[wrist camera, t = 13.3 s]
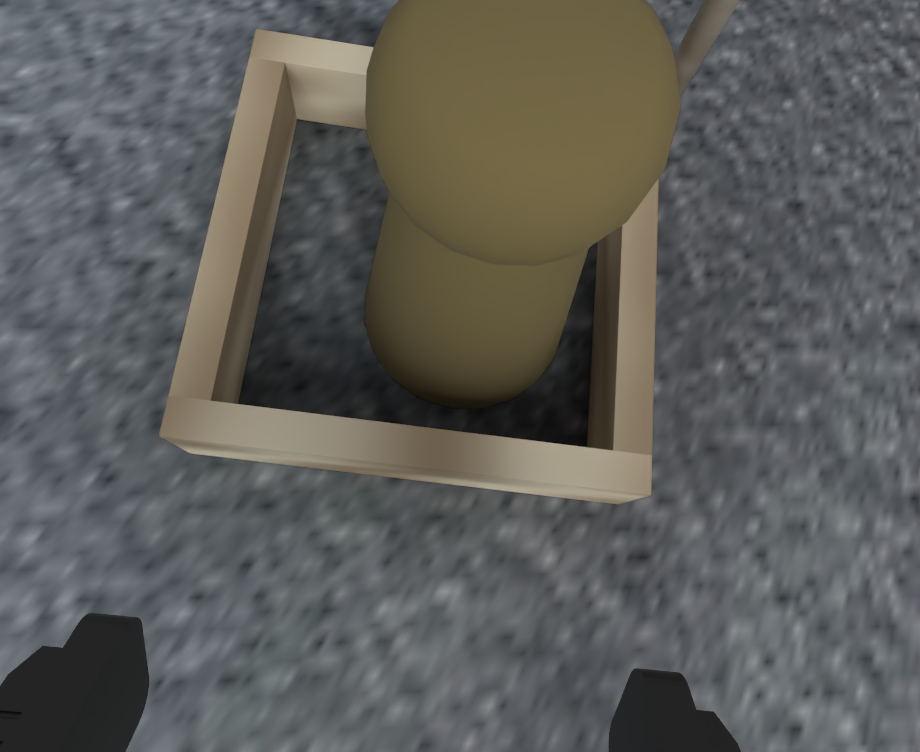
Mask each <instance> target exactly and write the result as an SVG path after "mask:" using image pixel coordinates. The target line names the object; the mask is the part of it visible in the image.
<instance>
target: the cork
mask: <svg viewBox="0 0 920 752" xmlns="http://www.w3.org/2000/svg"><path fill="white" fill-rule="evenodd" d="M680 108H681V103H680V95H679V86H678V78H677V69H676V63H675V59H674V54H673V50H672V46H671V43H670V41H669V39H668V37H667V35H666V33H665V31H664V29H663V27H662V25H661V23H660V21H659V19H658V17H657V15H656V13H655V10H654V9H653V8H652V7H651V6H650V5H649V4H648V3H647V2H646V1H645V0H399V1H398V2H397V3H396V4H395V5H394V6H393V7H392V8H391V9H390V11H389V13H388V16H387V18H386V20H385V22H384V25H383V27H382V29H381V32H380V34H379V36H378V38H377V41H376V43H375V45H374V48H373V51H372V54H371V58H370V61H369V64H368V68H367V74H366V103H365V117H366V128H367V137H368V140H369V143H370V146H371V148H372V151H373V154H374V157H375V160H376V163H377V166H378V169H379V172H380V175H381V177H382V179H383V181H384V183H385V185H386V187H387V189H388V191H389V196H388V200H387V204H386V209H385V213H384V217H383V222H382V226H381V230H380V235H379V239H378V243H377V248H376V252H375V256H374V260H373V265H372V269H371V273H370V278H369V282H368V286H367V291H366V297H365V327H366V330H367V333H368V336H369V340H370V343H371V346H372V349H373V352H374V354H375V356H376V357H377V358H378V360H379V361H380V362H381V364H382V365H383V367H384V368H385V369H386V371H387V372H388V373H389V375H390V376H391V378H392V379H393V380H395V381H396V382H398V383H399V384H400V385H402V386H403V387H405V388H406V389H407V390H409V391H410V392H411V393H413V394H414V395H416V396H417V397H418V398H421V399H424V400H427V401H430V402H433V403H436V404H439V405H442V406H445V407H448V408H485V407H488V406H491V405H495V404H498V403H501V402H504V401H508V400H511V399H513V398H515V397H516V396H517V395H519V394H520V393H522V392H523V391H524V390H526V389H527V388H529V387H530V386H531V385H533V384H534V383H536V382H537V381H538V380H539V378H540V377H541V375H542V374H543V373H544V371H545V370H546V368H547V367H548V366H549V364H550V363H551V361H552V360H553V358H554V357H555V354H556V351H557V348H558V345H559V341H560V338H561V335H562V332H563V329H564V326H565V322H566V319H567V316H568V313H569V310H570V307H571V303H572V300H573V297H574V294H575V291H576V287H577V284H578V281H579V278H580V275H581V272H582V268H583V265H584V262H585V259H586V256H587V253H588V249H589V247H590V246H592V245H593V244H595V243H596V242H598V241H599V240H601V239H602V238H604V237H605V236H607V235H608V234H610V233H611V232H613V231H614V230H616V229H617V228H619V227H620V226H622V225H623V224H625V223H626V222H627V221H628V220H629V219H630V217H631V216H632V214H633V213H634V212H635V210H636V209H637V208H638V206H639V205H640V203H641V202H642V201H643V199H644V198H645V196H646V195H647V194H648V192H649V191H650V190H651V188H652V187H653V185H654V184H655V183H656V181H657V180H658V178H659V177H660V176H661V174H662V173H663V171H664V170H665V167H666V163H667V159H668V155H669V151H670V147H671V144H672V140H673V136H674V132H675V128H676V124H677V120H678V116H679V112H680Z"/></svg>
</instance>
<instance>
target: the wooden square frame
mask: <svg viewBox="0 0 920 752" xmlns="http://www.w3.org/2000/svg"><path fill="white" fill-rule="evenodd" d="M739 1H740V0H704V1H703V3H702V5H701V7H700V9H699V11H698V12H697V14H696V16H695V18H694V20H693V22H692V23H691V25H690V27H689V29H688V31H687V33H686V34H685V36H684V38H683V40H682V42H681V44H680V45H679V47H678V49H677V51H676V53H675V55H674V59H675V63H676V69H677V78H678V86H679V95H680V98H681V97H682V95H683V93H684V92H685V90H686V88H687V87H688V85H689V83H690V82H691V80H692V79H693V77H694V75H695V74H696V72H697V70H698V69H699V67H700V65H701V64H702V62H703V60H704V59H705V57H706V56H707V54H708V52H709V51H710V49H711V47H712V46H713V44H714V42H715V41H716V39H717V37H718V36H719V34H720V33H721V31H722V29H723V28H724V26H725V24H726V23H727V21H728V19H729V18H730V16H731V14H732V13H733V11H734V10H735V8H736V6H737V5H738V3H739ZM373 48H374V47H368V46H362V45H355V44H349V43H343V42H336V41H330V40H324V39H317V38H311V37H305V36H298V35H292V34H286V33H279V32H273V31H267V30H260V29H256V32H255V36H254V40H253V45H252V49H251V53H250V57H249V61H248V65H247V70H246V74H245V78H244V82H243V86H242V91H241V95H240V99H239V103H238V107H237V111H236V116H235V120H234V124H233V128H232V132H231V137H230V141H229V145H228V149H227V153H226V157H225V162H224V166H223V170H222V174H221V178H220V183H219V187H218V191H217V195H216V199H215V203H214V208H213V212H212V216H211V220H210V224H209V228H208V233H207V237H206V241H205V245H204V249H203V254H202V258H201V262H200V266H199V270H198V274H197V279H196V283H195V287H194V291H193V295H192V300H191V304H190V308H189V312H188V316H187V320H186V325H185V329H184V333H183V337H182V341H181V346H180V350H179V354H178V358H177V362H176V366H175V371H174V375H173V379H172V383H171V387H170V391H169V396H168V400H167V404H166V408H165V412H164V417H163V421H162V425H161V429H160V433H159V436H160V437H162V438H163V439H165V440H167V441H169V442H170V443H172V444H174V445H176V446H178V447H179V448H181V449H183V450H185V451H187V452H188V453H191V454H200V455H208V456H217V457H225V458H233V459H242V460H250V461H259V462H267V463H275V464H284V465H292V466H301V467H309V468H317V469H326V470H334V471H343V472H351V473H359V474H368V475H376V476H385V477H393V478H402V479H410V480H418V481H427V482H435V483H444V484H452V485H460V486H469V487H477V488H486V489H494V490H502V491H511V492H519V493H528V494H536V495H544V496H553V497H561V498H570V499H578V500H586V501H595V502H603V503H612V504H622V503H625V502H629V501H632V500H636V499H639V498H643V497H646V496H650V495H651V476H652V434H653V392H654V350H655V308H656V266H657V224H658V182H659V178H658V180H657V181H656V183H655V184H654V185H653V187H652V188H651V190H650V191H649V192H648V194H647V195H646V196H645V198H644V199H643V201H642V202H641V203H640V205H639V206H638V208H637V209H636V210H635V212H634V213H633V214H632V216H631V217H630V219H629V220H628V221H627V222H626V223H625V224H623V225H622V226H620V227H619V228H617V229H616V230H614V231H613V232H611V233H610V234H608V235H607V236H605V237H604V238H602V239H601V240H599V241H598V244H597V263H596V283H595V302H594V321H593V340H592V359H591V378H590V398H589V417H588V436H587V447H580V446H572V445H564V444H556V443H548V442H540V441H532V440H524V439H516V438H508V437H500V436H492V435H484V434H476V433H467V432H459V431H451V430H443V429H435V428H427V427H419V426H411V425H403V424H395V423H387V422H379V421H371V420H363V419H354V418H346V417H338V416H330V415H322V414H314V413H306V412H298V411H290V410H282V409H274V408H266V407H258V406H249V405H241V404H238V402H239V397H240V392H241V387H242V382H243V378H244V373H245V368H246V363H247V358H248V354H249V349H250V344H251V339H252V334H253V329H254V325H255V320H256V315H257V310H258V305H259V301H260V296H261V291H262V286H263V281H264V276H265V272H266V267H267V262H268V257H269V252H270V248H271V243H272V238H273V233H274V228H275V224H276V219H277V214H278V209H279V204H280V199H281V195H282V190H283V185H284V180H285V175H286V171H287V166H288V161H289V156H290V151H291V146H292V142H293V137H294V132H295V127H296V122H297V119H299V120H306V121H313V122H319V123H326V124H333V125H339V126H346V127H353V128H359V129H366V130H367V128H366V117H365V103H366V74H367V68H368V64H369V61H370V58H371V54H372V51H373Z"/></svg>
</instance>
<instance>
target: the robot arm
mask: <svg viewBox="0 0 920 752" xmlns="http://www.w3.org/2000/svg"><path fill="white" fill-rule="evenodd" d="M148 688H149V674H148V666H147V658H146V651H145V643H144V636H143V628H142V622H141V620H140V619H139V618H137V617H127V616H117V615H107V614H97V613H89V614H87V615H86V616H84V617H83V618H82V619H81V621H80V622H79V623H78V625H77V626H76V628H75V630H74V631H73V633H72V634H71V636H70V637H69V639H68V641H67V642H66V644H65V645H64V647H63V648H58V647H48V646H42V647H41V648H40V649H39V650H37V651H36V652H35V653H34V654H32V655H31V656H30V657H29V658H28V659H26V660H25V661H24V662H23V663H21V664H20V665H19V666H18V667H17V668H15V669H14V670H13V671H12V672H11V673H9V674H8V676H7V677H6V678H5V680H4V681H3V683H2V684H1V686H0V752H126V749H127V747H128V745H129V743H130V741H131V739H132V736H133V734H134V732H135V730H136V728H137V725H138V723H139V721H140V719H141V716H142V713H143V710H144V707H145V703H146V700H147V695H148ZM609 752H741V751H740V749H739V746H738V744H737V742H736V741H735V739H734V738H733V737H732V735H731V734H730V733H729V731H728V730H727V729H726V727H725V726H724V725H723V723H722V722H721V721H720V719H719V718H718V717H717V715H716V714H715V713H714V712H711V711H701V710H696V708H695V705H694V702H693V699H692V696H691V693H690V690H689V687H688V684H687V682H686V680H685V678H684V676H683V675H682V674H681V673H678V672H668V671H658V670H648V669H637V668H636V669H634V670H633V671H632V672H631V674H630V677H629V679H628V682H627V684H626V687H625V689H624V692H623V694H622V697H621V700H620V702H619V705H618V707H617V710H616V712H615V715H614V717H613V720H612V723H611V727H610V733H609Z"/></svg>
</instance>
